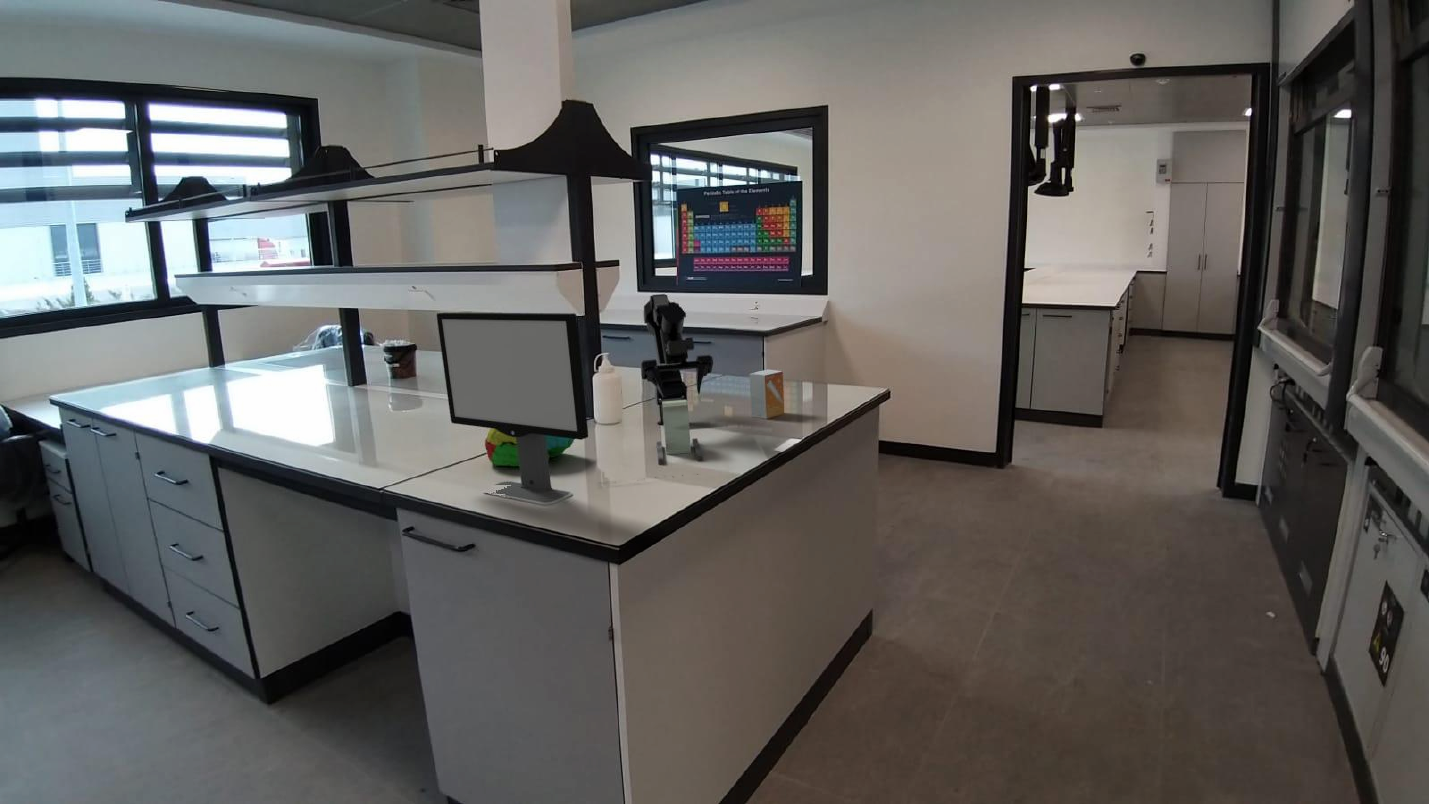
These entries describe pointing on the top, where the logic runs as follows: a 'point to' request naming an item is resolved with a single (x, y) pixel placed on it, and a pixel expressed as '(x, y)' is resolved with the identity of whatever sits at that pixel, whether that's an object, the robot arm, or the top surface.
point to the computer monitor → (517, 386)
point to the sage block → (676, 427)
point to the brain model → (505, 447)
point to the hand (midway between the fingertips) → (681, 394)
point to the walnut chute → (696, 448)
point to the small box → (767, 394)
